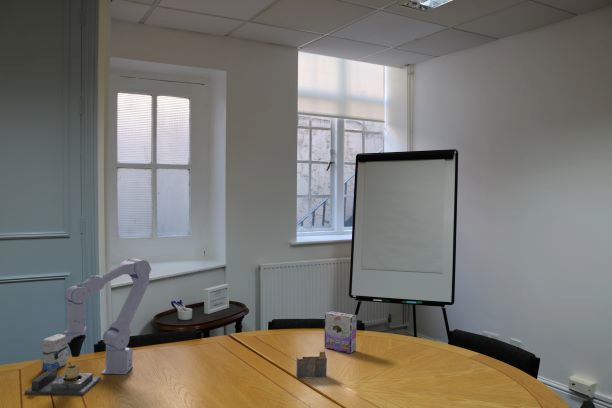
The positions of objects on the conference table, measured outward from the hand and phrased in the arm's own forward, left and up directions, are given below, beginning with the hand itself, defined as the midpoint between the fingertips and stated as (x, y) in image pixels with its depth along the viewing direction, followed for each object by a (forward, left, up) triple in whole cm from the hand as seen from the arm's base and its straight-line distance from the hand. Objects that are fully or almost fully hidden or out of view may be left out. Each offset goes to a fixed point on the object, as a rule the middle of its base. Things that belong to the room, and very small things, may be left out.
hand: (75, 356), depth 175 cm
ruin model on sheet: (-86, -10, -10) cm, 88 cm away
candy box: (-100, -43, -10) cm, 109 cm away
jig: (+2, +4, -9) cm, 10 cm away
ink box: (+15, -15, -10) cm, 23 cm away
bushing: (-1, +4, -8) cm, 9 cm away
